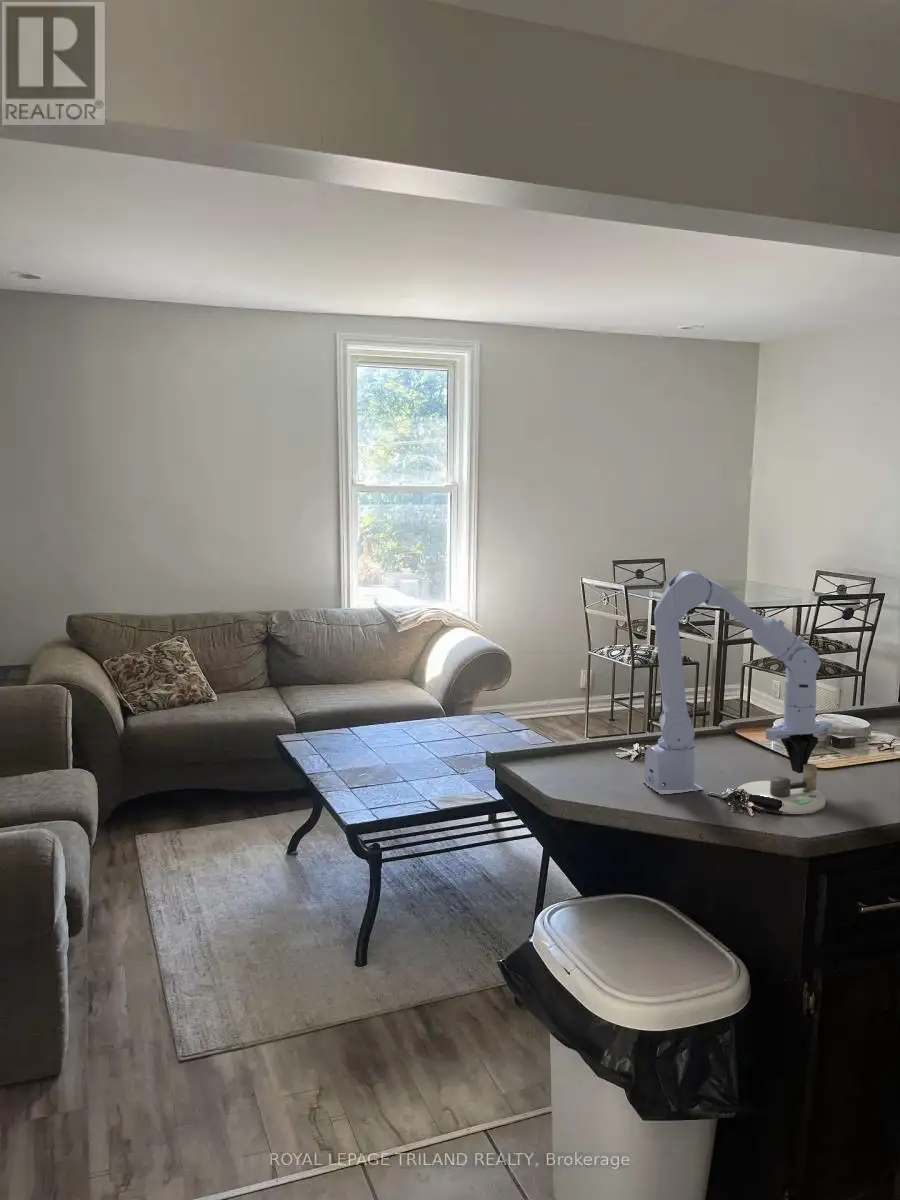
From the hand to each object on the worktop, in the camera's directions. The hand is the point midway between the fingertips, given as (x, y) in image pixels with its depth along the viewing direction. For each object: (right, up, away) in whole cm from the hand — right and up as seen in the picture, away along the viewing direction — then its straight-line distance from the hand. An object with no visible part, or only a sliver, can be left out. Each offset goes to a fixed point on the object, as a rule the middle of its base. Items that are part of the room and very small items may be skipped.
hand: (798, 771), depth 170 cm
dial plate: (-5, -5, -4) cm, 8 cm away
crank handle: (-2, -3, -4) cm, 5 cm away
